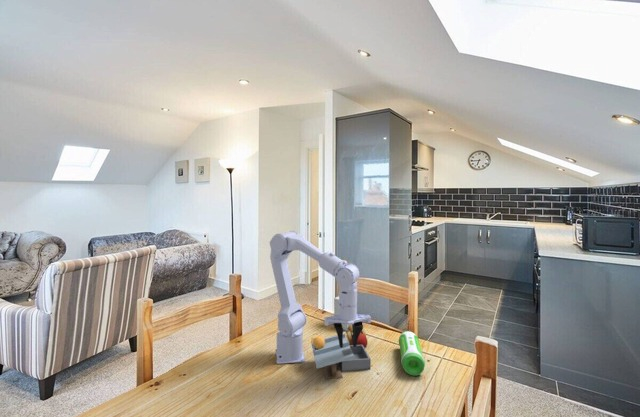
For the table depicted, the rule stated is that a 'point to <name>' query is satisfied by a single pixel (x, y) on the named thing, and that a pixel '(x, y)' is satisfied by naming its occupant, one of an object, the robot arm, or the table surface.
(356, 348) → the grey open box
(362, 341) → the kendama
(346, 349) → the light blue flat piece
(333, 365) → the stand
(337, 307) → the supplement box
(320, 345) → the ball
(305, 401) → the table surface
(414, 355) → the speaker
